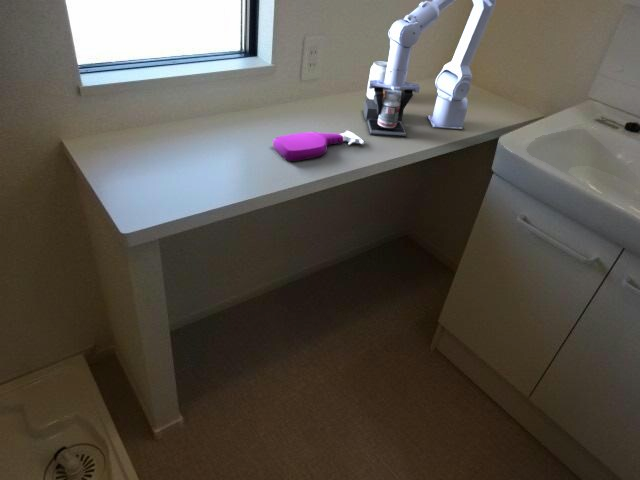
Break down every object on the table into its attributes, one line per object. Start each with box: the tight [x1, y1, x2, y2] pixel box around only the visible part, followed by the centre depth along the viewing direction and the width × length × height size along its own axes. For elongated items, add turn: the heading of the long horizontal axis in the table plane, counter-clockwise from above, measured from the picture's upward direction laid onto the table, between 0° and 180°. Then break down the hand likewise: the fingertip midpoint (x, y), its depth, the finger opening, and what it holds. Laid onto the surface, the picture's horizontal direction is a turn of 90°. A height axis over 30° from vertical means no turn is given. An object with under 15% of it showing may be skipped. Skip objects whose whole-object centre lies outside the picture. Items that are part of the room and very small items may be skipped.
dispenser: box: [363, 95, 404, 122], centre depth 152 cm, size 11×9×6 cm
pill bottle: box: [378, 90, 401, 128], centre depth 142 cm, size 6×6×10 cm
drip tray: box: [366, 119, 407, 138], centre depth 145 cm, size 10×9×1 cm
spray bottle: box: [272, 130, 365, 162], centre depth 131 cm, size 3×11×24 cm
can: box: [366, 60, 388, 99], centre depth 162 cm, size 8×8×12 cm
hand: (388, 113), depth 143 cm, fingers closed on pill bottle, 5 cm apart
